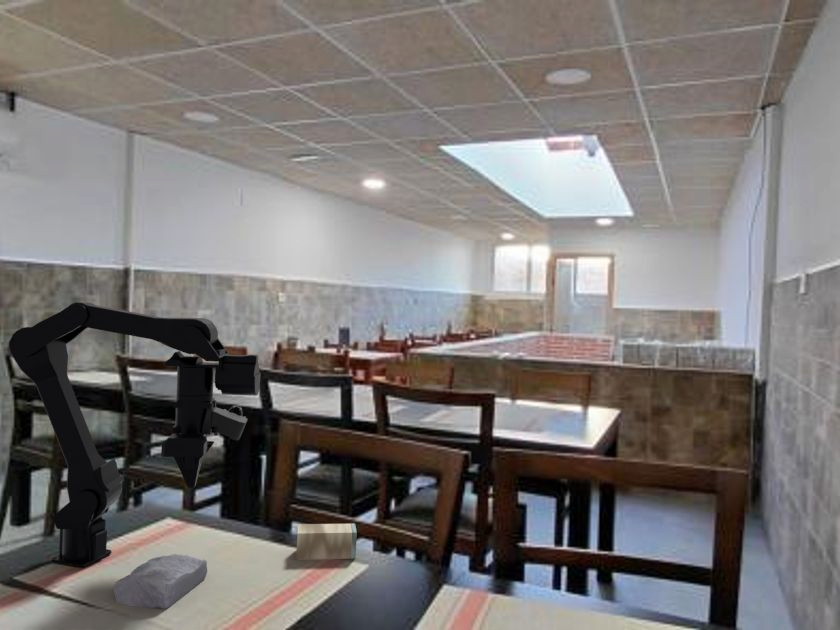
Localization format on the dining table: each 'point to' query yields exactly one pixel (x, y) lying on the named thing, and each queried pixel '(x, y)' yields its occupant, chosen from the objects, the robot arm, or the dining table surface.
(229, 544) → the dining table surface
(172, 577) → the stone block
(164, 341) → the robot arm
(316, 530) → the beech block
